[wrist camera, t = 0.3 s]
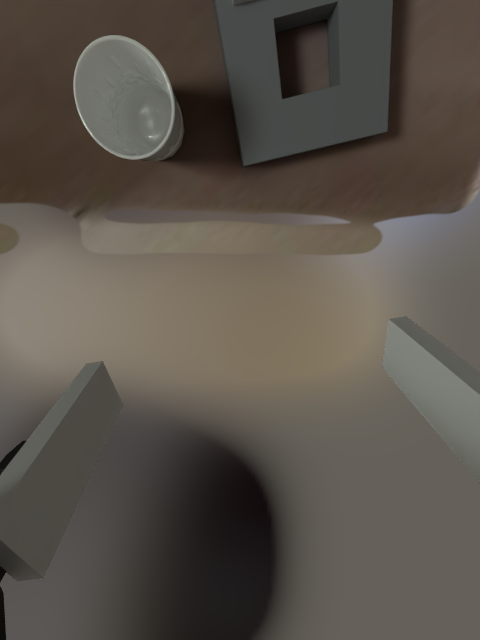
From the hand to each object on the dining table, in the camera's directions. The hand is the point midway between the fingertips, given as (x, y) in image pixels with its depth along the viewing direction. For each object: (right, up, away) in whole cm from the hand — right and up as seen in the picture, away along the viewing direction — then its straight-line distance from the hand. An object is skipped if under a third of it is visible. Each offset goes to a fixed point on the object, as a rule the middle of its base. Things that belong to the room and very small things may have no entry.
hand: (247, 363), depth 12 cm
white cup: (-10, +24, +18) cm, 32 cm away
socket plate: (+6, +29, +16) cm, 34 cm away
